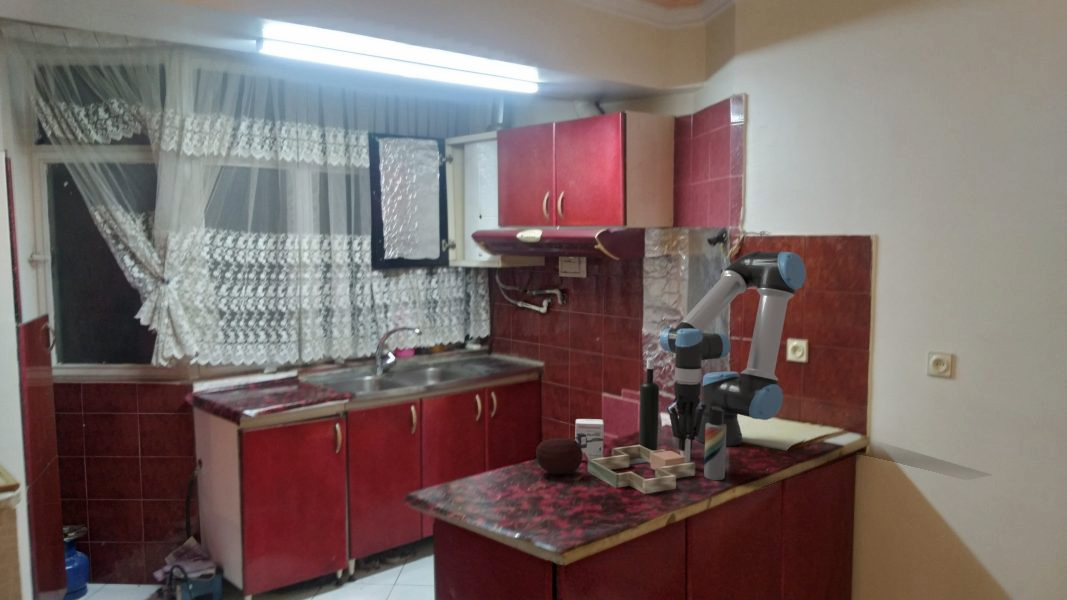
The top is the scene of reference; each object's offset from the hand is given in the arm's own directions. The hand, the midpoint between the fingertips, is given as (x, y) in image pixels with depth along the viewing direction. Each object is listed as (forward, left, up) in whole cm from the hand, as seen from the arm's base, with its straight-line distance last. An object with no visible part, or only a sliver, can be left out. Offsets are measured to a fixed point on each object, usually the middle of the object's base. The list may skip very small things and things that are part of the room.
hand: (684, 460), depth 212 cm
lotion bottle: (-2, +11, -2) cm, 11 cm away
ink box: (+22, -18, -2) cm, 29 cm away
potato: (+37, -9, -2) cm, 38 cm away
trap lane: (+15, 0, -2) cm, 15 cm away
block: (+6, 0, -2) cm, 7 cm away
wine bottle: (+1, -17, -2) cm, 17 cm away
